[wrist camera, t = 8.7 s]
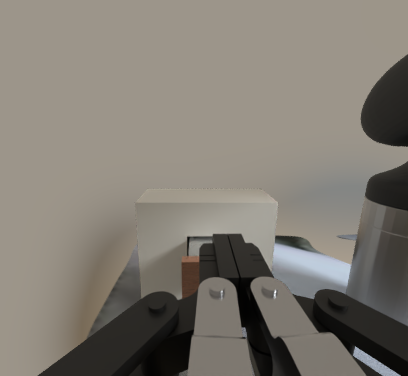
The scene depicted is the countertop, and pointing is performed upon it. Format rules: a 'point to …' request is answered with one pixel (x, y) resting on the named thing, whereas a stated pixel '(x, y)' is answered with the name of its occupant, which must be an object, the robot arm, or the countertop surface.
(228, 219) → the key box
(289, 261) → the countertop surface
